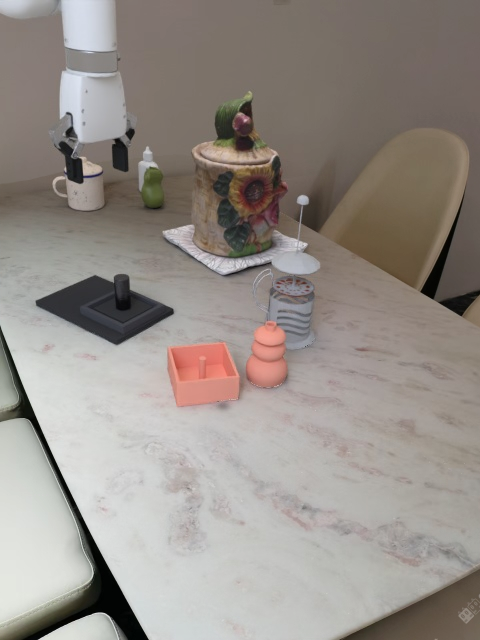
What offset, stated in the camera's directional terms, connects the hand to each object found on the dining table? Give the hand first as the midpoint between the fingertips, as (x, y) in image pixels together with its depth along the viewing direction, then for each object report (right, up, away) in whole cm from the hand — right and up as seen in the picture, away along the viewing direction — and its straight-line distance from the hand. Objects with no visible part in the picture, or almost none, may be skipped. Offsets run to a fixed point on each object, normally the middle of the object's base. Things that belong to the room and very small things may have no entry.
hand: (98, 175), depth 99 cm
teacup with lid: (-19, +7, +49) cm, 53 cm away
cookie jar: (+20, -5, +36) cm, 42 cm away
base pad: (-1, -22, +8) cm, 23 cm away
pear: (-1, +8, +52) cm, 53 cm away
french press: (+31, -26, +6) cm, 41 cm away
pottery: (+22, -34, -6) cm, 41 cm away
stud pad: (+3, -22, +6) cm, 23 cm away
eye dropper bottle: (-4, +14, +60) cm, 62 cm away
